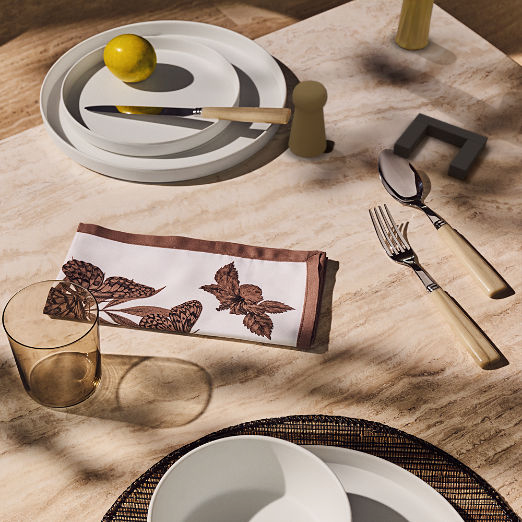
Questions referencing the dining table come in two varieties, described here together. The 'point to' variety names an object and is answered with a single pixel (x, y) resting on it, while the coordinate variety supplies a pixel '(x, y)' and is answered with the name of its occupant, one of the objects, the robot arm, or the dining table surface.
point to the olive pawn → (308, 119)
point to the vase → (414, 24)
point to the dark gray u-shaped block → (446, 132)
